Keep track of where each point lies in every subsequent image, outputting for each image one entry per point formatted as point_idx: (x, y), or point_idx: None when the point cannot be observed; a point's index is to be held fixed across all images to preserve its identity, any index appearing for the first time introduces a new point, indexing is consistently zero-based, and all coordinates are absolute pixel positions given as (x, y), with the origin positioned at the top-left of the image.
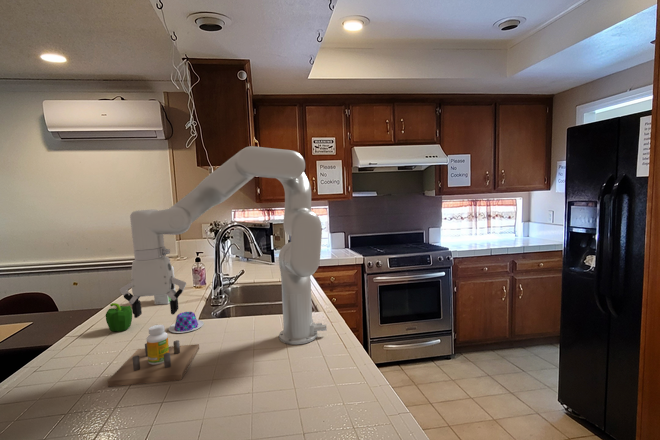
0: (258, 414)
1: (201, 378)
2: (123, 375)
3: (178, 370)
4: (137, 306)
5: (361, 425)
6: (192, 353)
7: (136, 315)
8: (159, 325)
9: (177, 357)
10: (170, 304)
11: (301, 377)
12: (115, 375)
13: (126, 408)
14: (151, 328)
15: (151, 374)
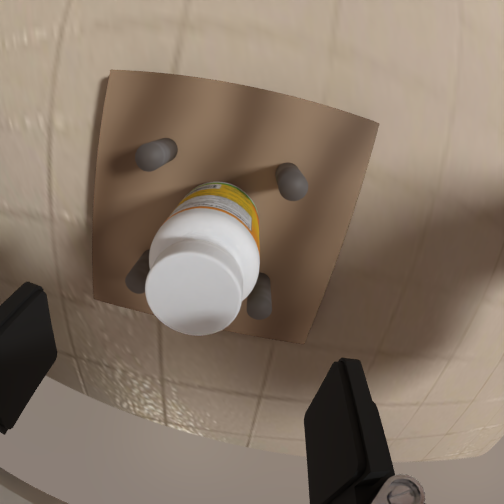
0: (400, 441)
1: (353, 341)
2: (124, 285)
3: (296, 321)
4: (13, 396)
5: (466, 451)
6: (349, 209)
7: (46, 364)
8: (204, 270)
9: (291, 221)
10: (312, 486)
11: (497, 377)
12: (100, 275)
13: (187, 390)
14: (163, 304)
15: None
